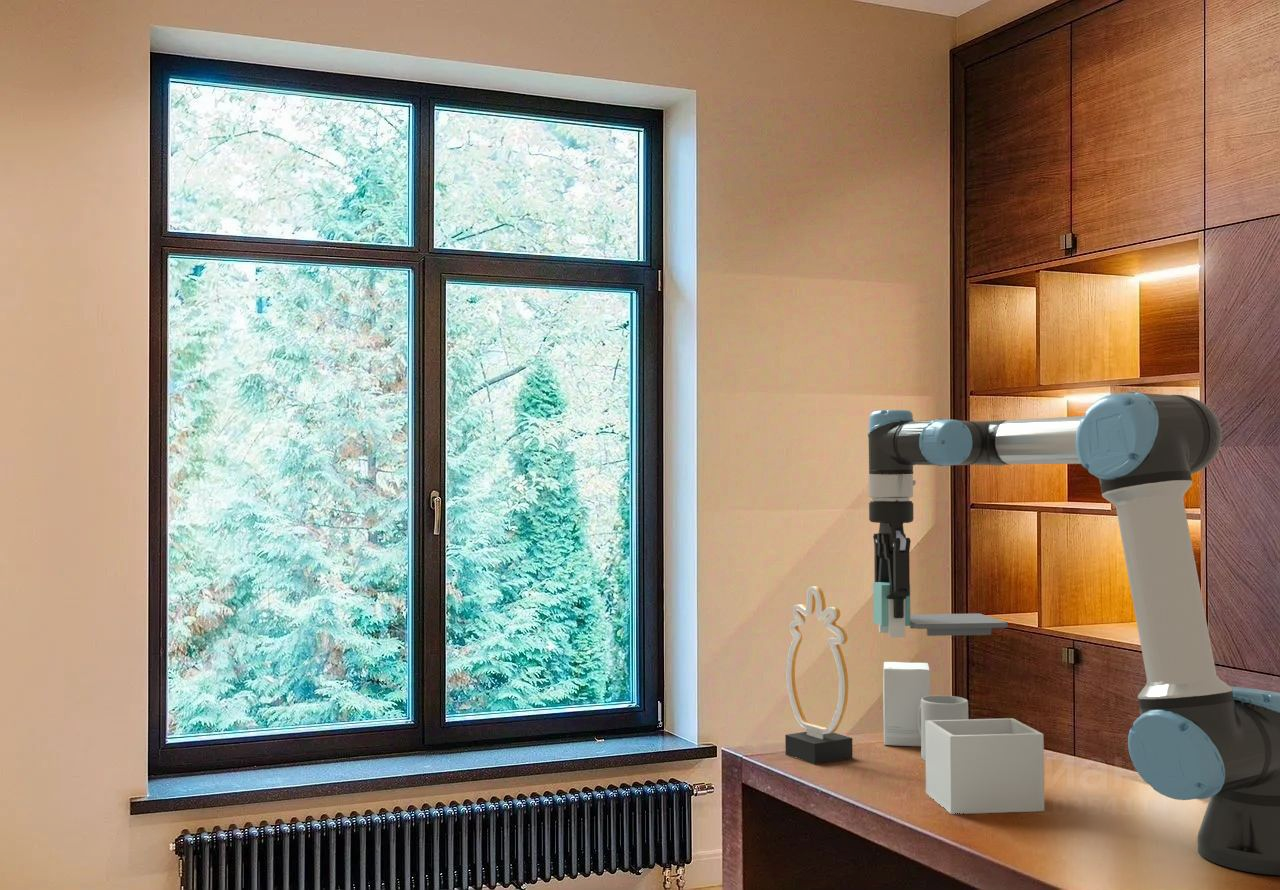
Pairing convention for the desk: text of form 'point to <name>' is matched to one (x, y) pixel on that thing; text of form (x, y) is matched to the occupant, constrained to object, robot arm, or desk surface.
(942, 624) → the lid
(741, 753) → the desk surface
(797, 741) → the lamp
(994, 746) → the tub
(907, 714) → the supplement box
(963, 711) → the mug
